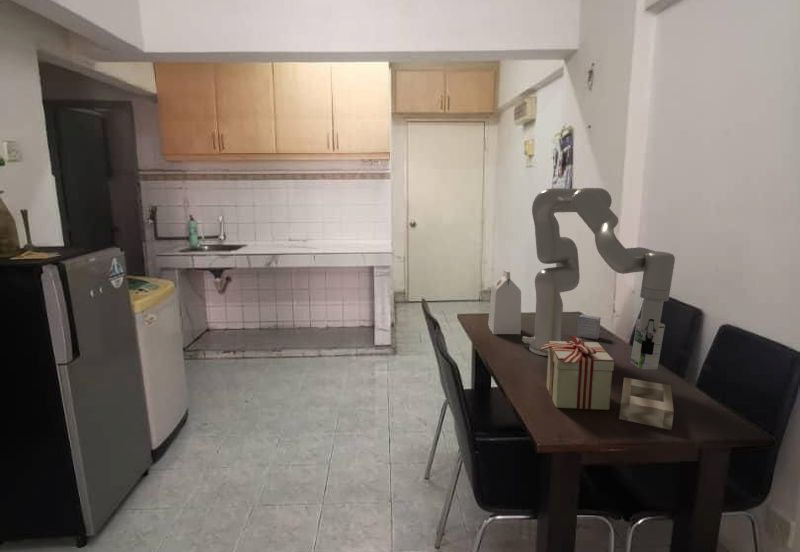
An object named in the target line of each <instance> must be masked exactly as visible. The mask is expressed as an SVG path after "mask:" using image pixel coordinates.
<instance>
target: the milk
mask: <svg viewBox="0 0 800 552" xmlns="http://www.w3.org/2000/svg"><path fill="white" fill-rule="evenodd" d="M487 325H488V326H489V327H488V326H487V327H488V328H489V330H490V332H491V331H492V332H491V333H492V335H497V334H522V333H521V332H522V291H521V289H520V288H519V286H518V285H517V284H516V283H515V282H514V281H513V280H512V279H511V271H510V270H509V269H503V273H502V276H501V277H499V278H498V279H497V280H496V281H495V282H493V284H492V285H491V289H490V301H489V310H488V323H487Z"/></svg>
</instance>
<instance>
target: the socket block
mask: <svg viewBox="0 0 800 552" xmlns="http://www.w3.org/2000/svg"><path fill="white" fill-rule="evenodd" d="M621 392H622V393H621V399H620V400H621V401H620V409H619V420H623V421H626V422H633V423H638V424H642V425H645V426H646V425H647V426H651V427H656V428H660V429H664V430H670V431H672V428H673V421H674V412H675V411H674V402H673V395H672V394H673V393H672V385H670V384H665V383H663V384H662V383H659V382H653V381H647V380H641V379H635V378H630V377H623V384H622V391H621Z"/></svg>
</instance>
